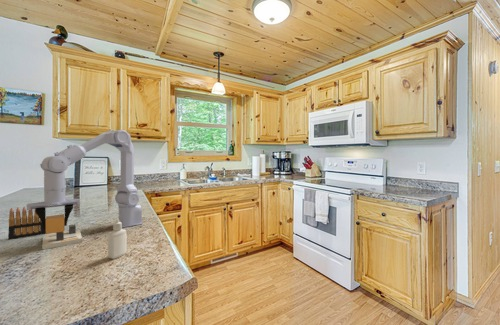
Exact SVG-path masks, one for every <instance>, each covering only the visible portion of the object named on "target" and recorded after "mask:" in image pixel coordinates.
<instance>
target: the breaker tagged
mask: <svg viewBox="0 0 500 325" xmlns="http://www.w3.org/2000/svg"><path fill="white" fill-rule="evenodd" d="M64 232H65V231H63V232H57V233H56V241H59V240H64Z"/></svg>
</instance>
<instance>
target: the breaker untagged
mask: <svg viewBox="0 0 500 325" xmlns="http://www.w3.org/2000/svg"><path fill="white" fill-rule="evenodd" d="M76 230H77V229H76V224H69V225H68V231H69V234H72V233H76Z"/></svg>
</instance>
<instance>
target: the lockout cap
mask: <svg viewBox="0 0 500 325" xmlns="http://www.w3.org/2000/svg"><path fill="white" fill-rule="evenodd" d="M64 218H65V213H64V214H63V213H61V214H53V215H47V216H46V234H45V235H47V234H53V233H57V232H66V231H65V226H64Z"/></svg>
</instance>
